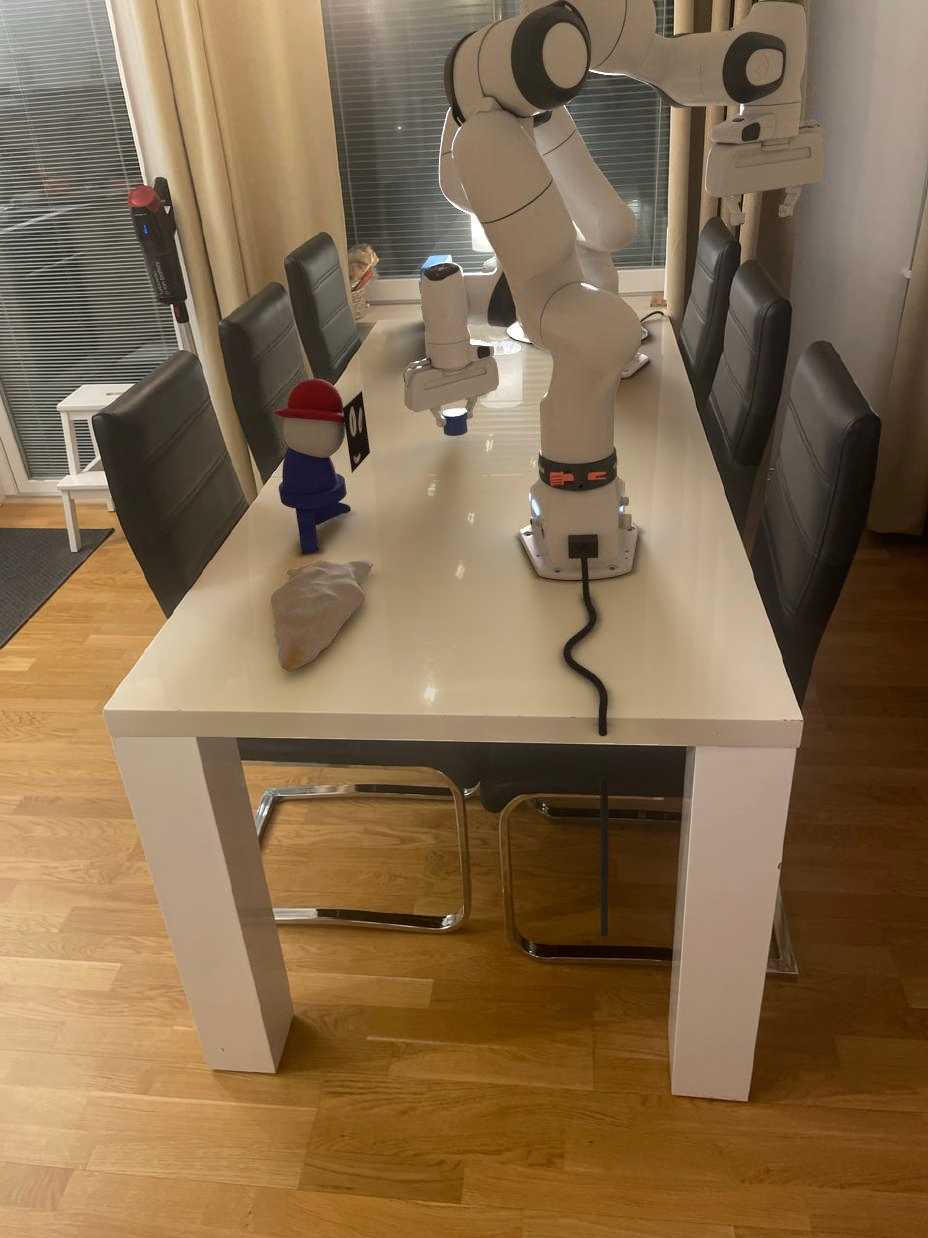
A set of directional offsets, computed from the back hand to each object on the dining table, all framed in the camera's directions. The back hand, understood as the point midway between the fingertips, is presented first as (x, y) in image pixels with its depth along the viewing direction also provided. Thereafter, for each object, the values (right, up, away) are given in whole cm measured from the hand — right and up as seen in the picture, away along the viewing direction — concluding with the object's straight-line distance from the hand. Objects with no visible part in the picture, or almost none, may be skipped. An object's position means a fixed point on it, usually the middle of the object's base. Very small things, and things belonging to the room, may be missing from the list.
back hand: (455, 422), depth 193 cm
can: (0, -2, +1) cm, 2 cm away
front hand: (+50, +25, -38) cm, 67 cm away
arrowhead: (-20, -40, -57) cm, 72 cm away
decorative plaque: (+31, +41, +72) cm, 88 cm away
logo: (-4, +39, +75) cm, 84 cm away
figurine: (-21, -25, -31) cm, 45 cm away
